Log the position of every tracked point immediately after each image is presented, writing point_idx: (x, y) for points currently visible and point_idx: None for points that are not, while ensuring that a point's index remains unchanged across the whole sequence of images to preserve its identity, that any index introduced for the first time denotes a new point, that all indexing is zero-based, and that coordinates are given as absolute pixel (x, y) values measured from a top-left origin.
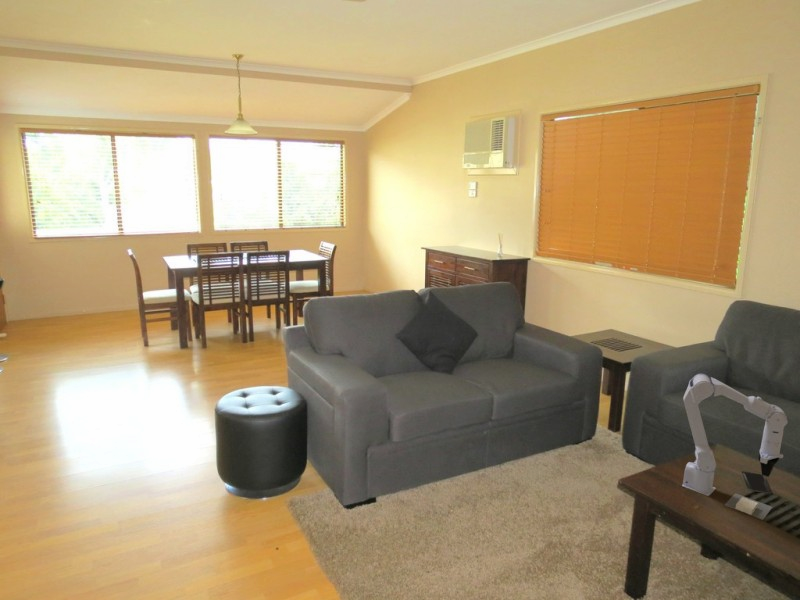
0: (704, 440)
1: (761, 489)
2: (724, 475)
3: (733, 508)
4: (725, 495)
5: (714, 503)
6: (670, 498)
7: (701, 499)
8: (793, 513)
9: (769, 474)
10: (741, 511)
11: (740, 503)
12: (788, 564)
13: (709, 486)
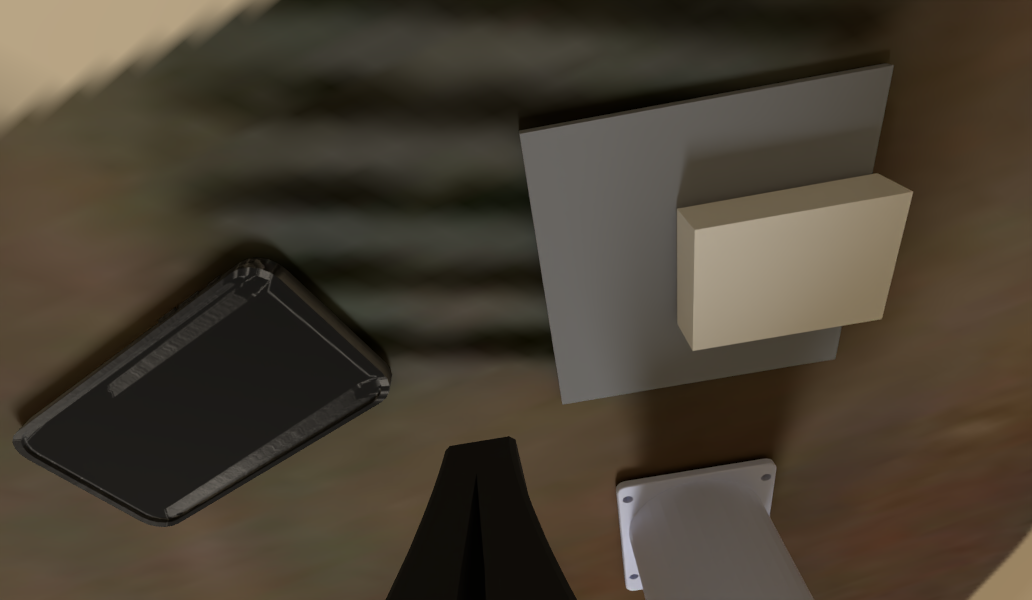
0: None
1: (280, 339)
2: (345, 538)
3: None
4: (645, 417)
5: (838, 398)
6: (958, 524)
7: (841, 455)
8: None
9: (515, 470)
10: None
11: (839, 306)
12: None
13: (747, 523)
